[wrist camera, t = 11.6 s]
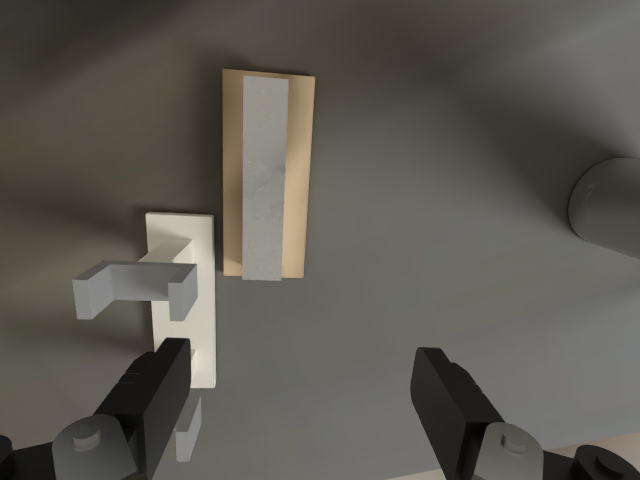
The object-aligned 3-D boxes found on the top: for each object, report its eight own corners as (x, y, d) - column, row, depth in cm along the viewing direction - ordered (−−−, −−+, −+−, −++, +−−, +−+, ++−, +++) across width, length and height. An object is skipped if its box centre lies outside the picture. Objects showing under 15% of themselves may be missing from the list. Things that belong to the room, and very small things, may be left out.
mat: (314, 78, 31) (315, 76, 31) (303, 275, 36) (303, 278, 36) (223, 70, 31) (222, 68, 30) (224, 273, 36) (223, 275, 35)
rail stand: (218, 215, 34) (180, 252, 22) (219, 381, 39) (189, 482, 27) (145, 211, 33) (68, 248, 22) (156, 381, 38) (98, 484, 27)
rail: (288, 86, 31) (288, 79, 27) (282, 267, 35) (281, 280, 32) (248, 82, 30) (243, 75, 27) (246, 266, 35) (242, 279, 32)
